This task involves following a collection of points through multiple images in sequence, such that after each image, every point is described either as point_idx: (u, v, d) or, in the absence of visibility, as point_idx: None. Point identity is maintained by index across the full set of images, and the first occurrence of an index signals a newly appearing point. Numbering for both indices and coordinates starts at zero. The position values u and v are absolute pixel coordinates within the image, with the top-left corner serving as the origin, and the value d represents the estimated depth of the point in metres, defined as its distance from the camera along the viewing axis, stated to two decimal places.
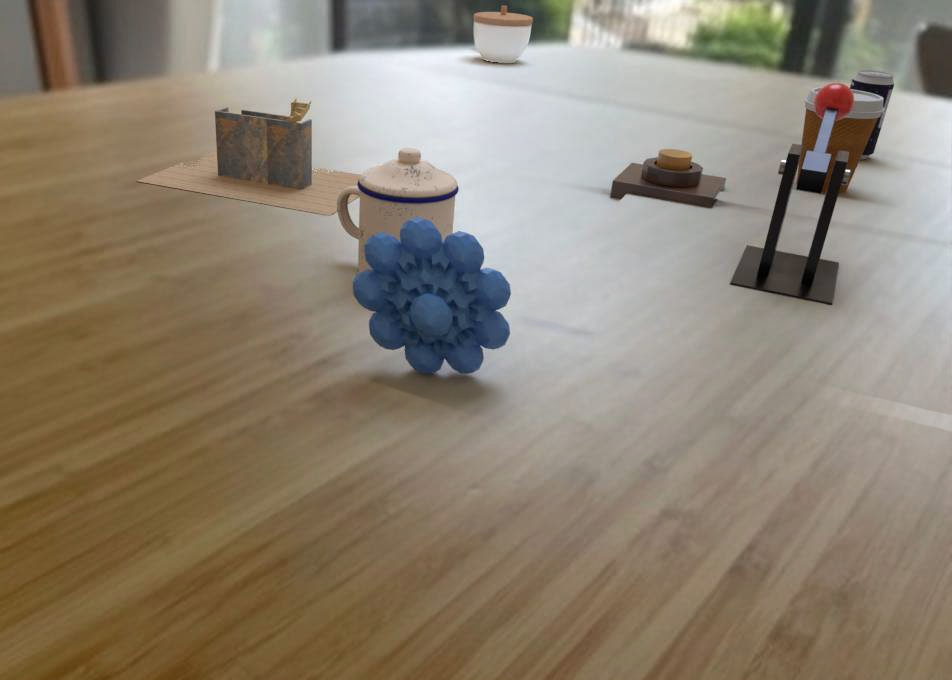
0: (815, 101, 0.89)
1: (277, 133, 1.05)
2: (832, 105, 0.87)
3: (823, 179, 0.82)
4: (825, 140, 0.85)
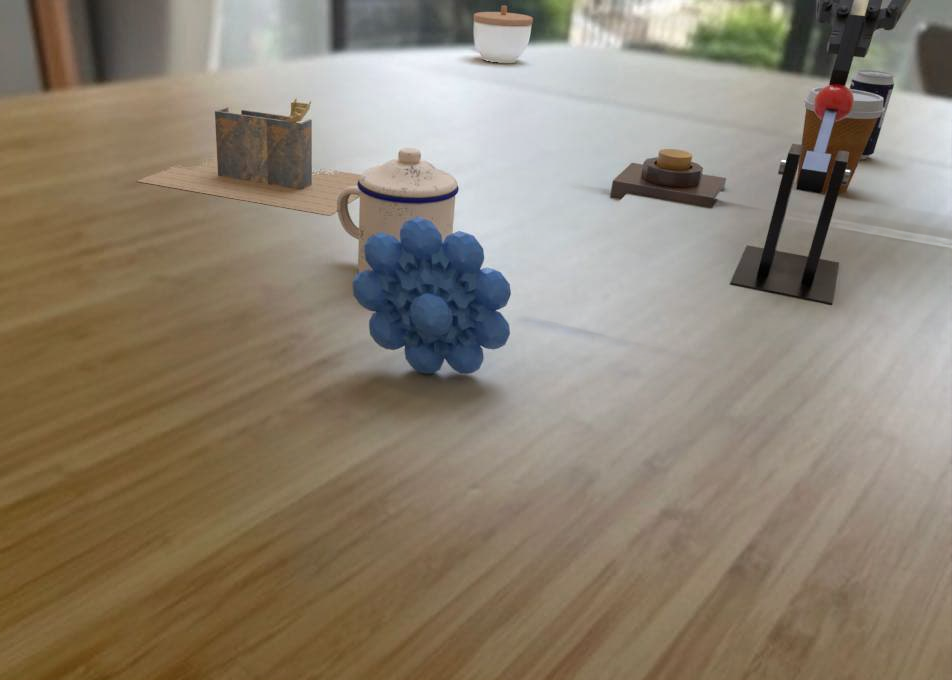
0: (815, 102, 0.89)
1: (277, 133, 1.05)
2: (832, 106, 0.87)
3: (823, 179, 0.82)
4: (825, 140, 0.85)
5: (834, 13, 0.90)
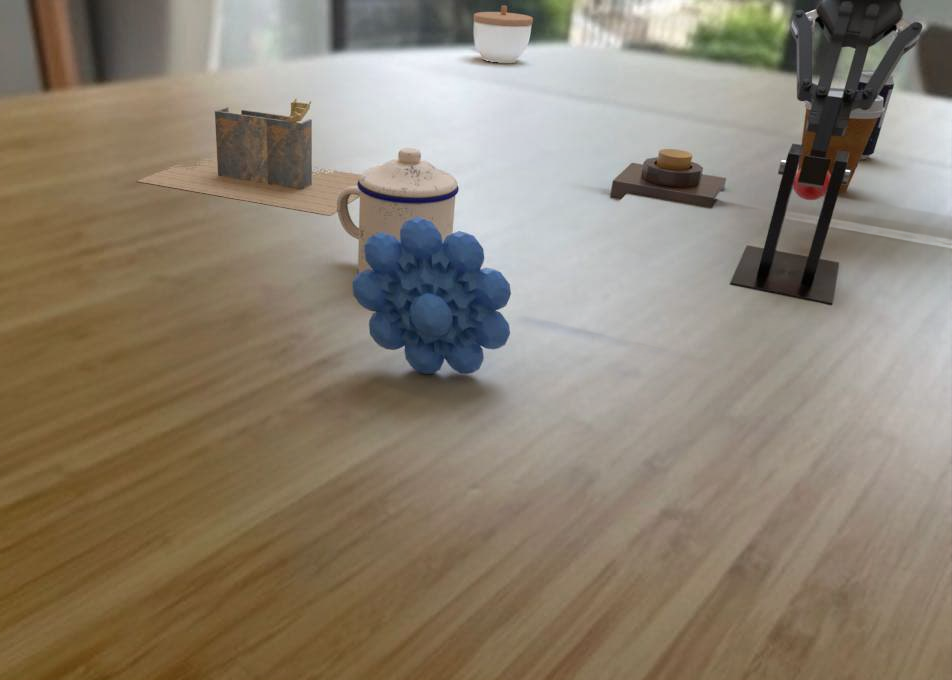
0: (795, 176, 0.93)
1: (277, 133, 1.05)
2: None
3: (826, 167, 0.81)
4: None
5: (813, 93, 0.94)
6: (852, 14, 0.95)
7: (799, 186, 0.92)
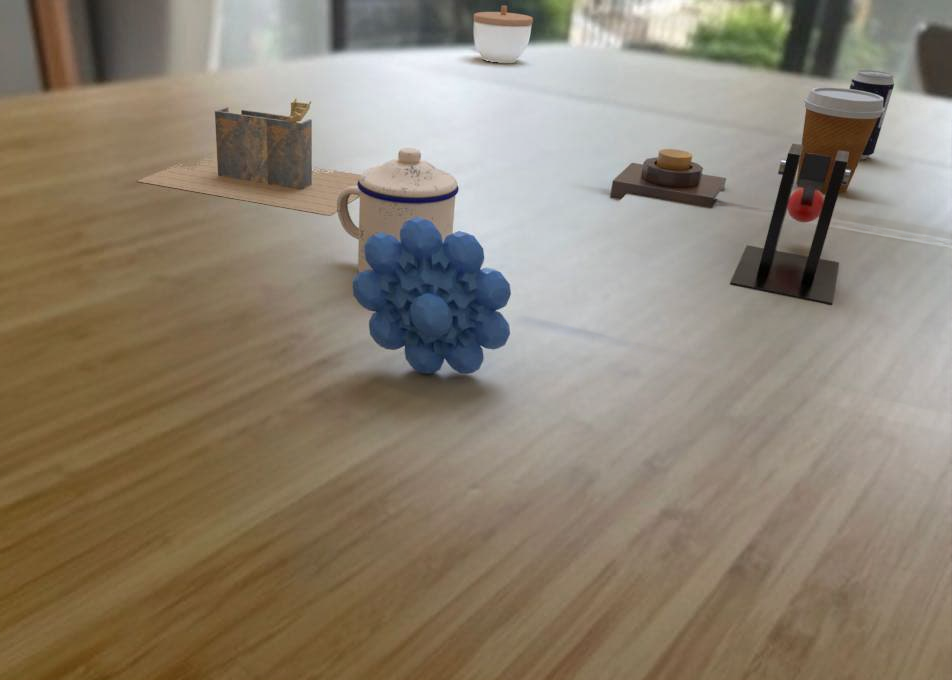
0: (790, 198, 0.93)
1: (277, 133, 1.05)
2: None
3: (827, 164, 0.81)
4: None
5: None
6: None
7: (794, 206, 0.93)
